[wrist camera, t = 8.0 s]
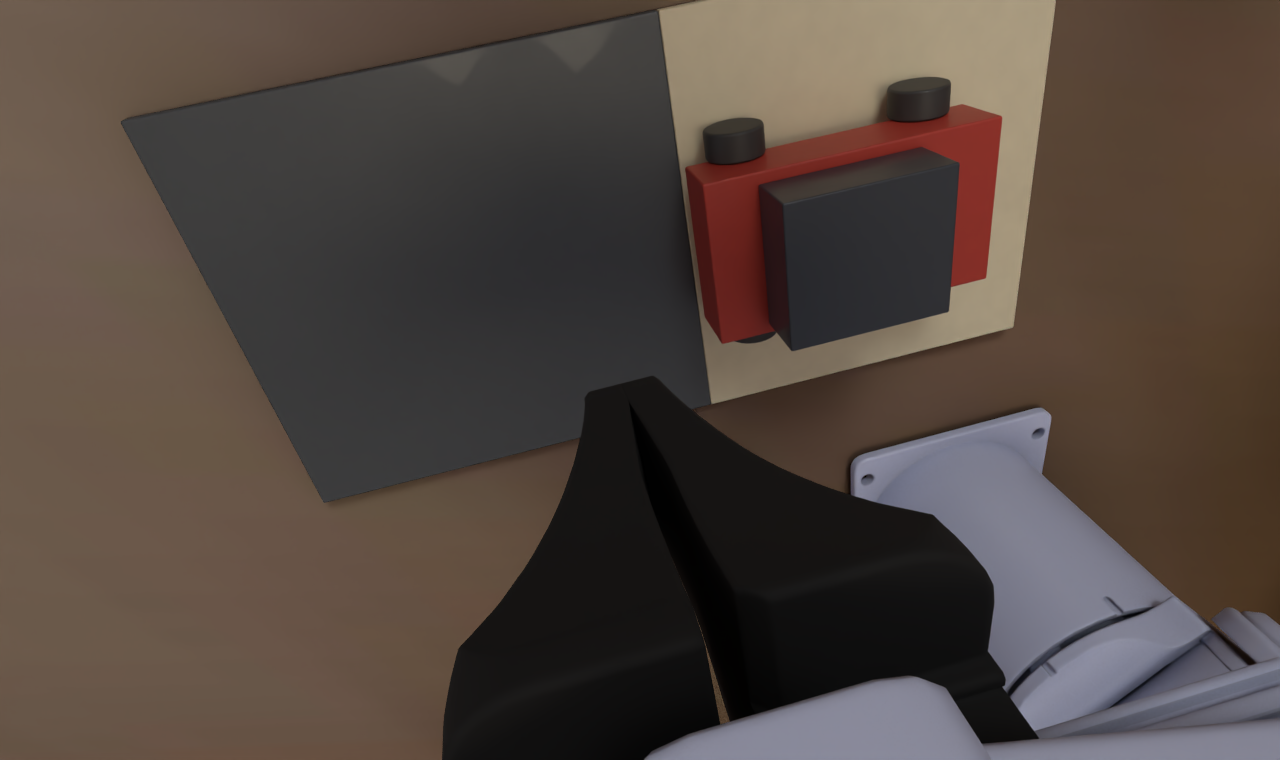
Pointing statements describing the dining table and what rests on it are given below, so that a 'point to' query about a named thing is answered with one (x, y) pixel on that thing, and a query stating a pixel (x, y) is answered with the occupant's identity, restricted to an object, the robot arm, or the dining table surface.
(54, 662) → the dining table surface
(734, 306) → the toy car
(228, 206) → the road board
